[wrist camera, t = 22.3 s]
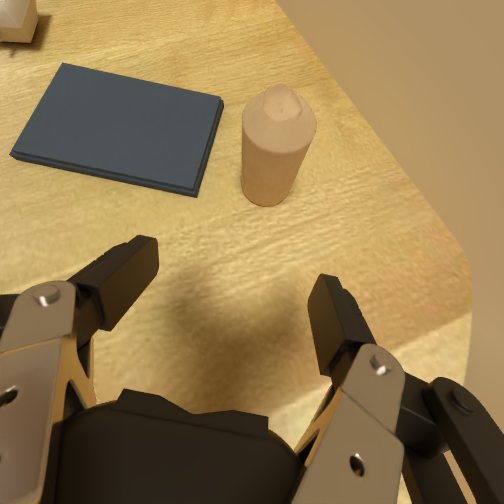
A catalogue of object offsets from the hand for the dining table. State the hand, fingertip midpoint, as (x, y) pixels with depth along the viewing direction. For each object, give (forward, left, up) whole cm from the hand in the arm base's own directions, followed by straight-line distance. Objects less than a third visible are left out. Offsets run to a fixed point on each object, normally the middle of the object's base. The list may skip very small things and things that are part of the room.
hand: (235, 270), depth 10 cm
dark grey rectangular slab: (-16, +15, -11) cm, 25 cm away
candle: (+1, +12, -11) cm, 16 cm away
